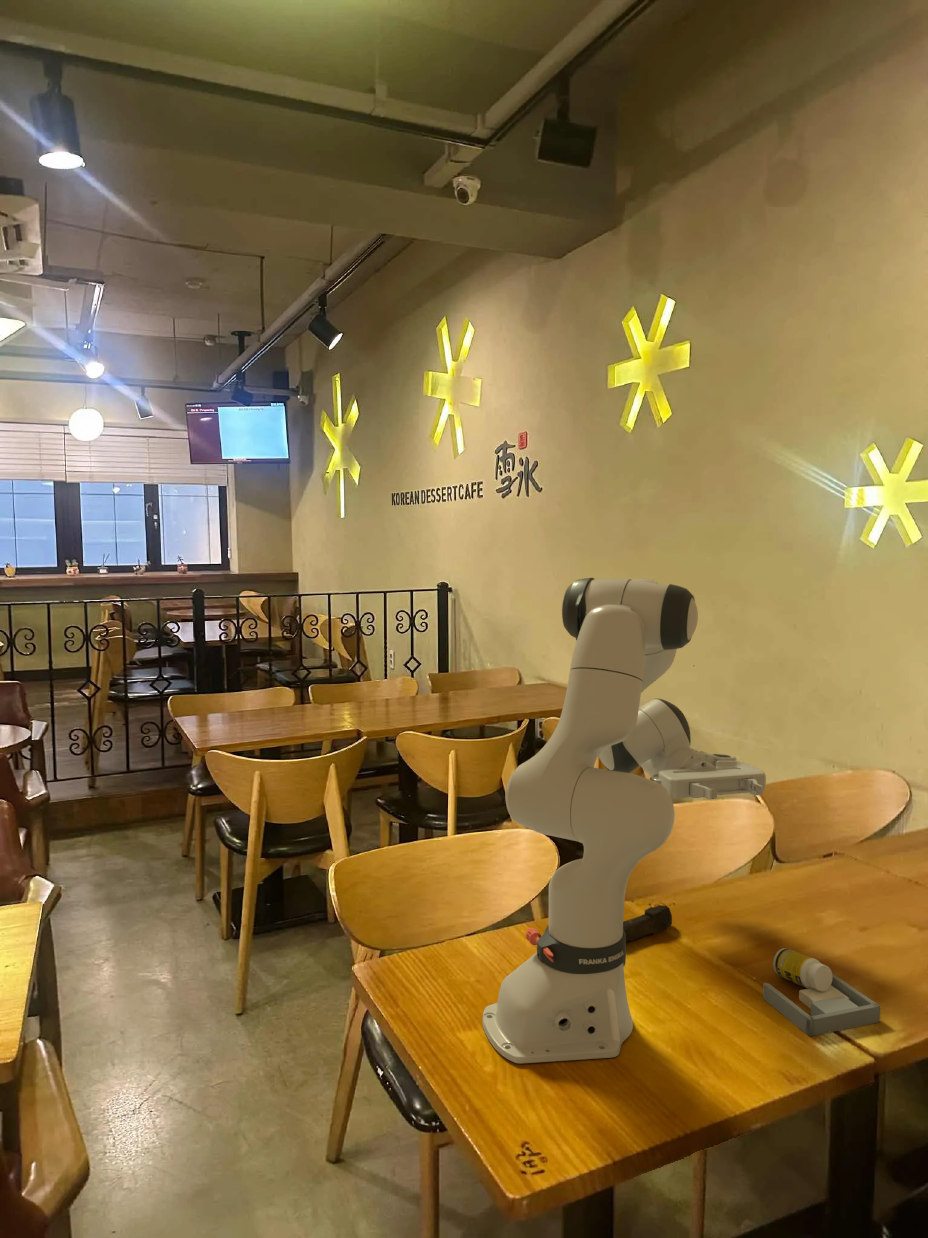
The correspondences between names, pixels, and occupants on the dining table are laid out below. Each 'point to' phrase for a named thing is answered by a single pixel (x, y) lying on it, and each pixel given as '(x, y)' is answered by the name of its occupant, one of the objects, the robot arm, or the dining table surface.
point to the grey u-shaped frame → (828, 1021)
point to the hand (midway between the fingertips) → (736, 793)
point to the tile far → (818, 995)
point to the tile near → (831, 1005)
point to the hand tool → (648, 923)
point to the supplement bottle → (802, 970)
